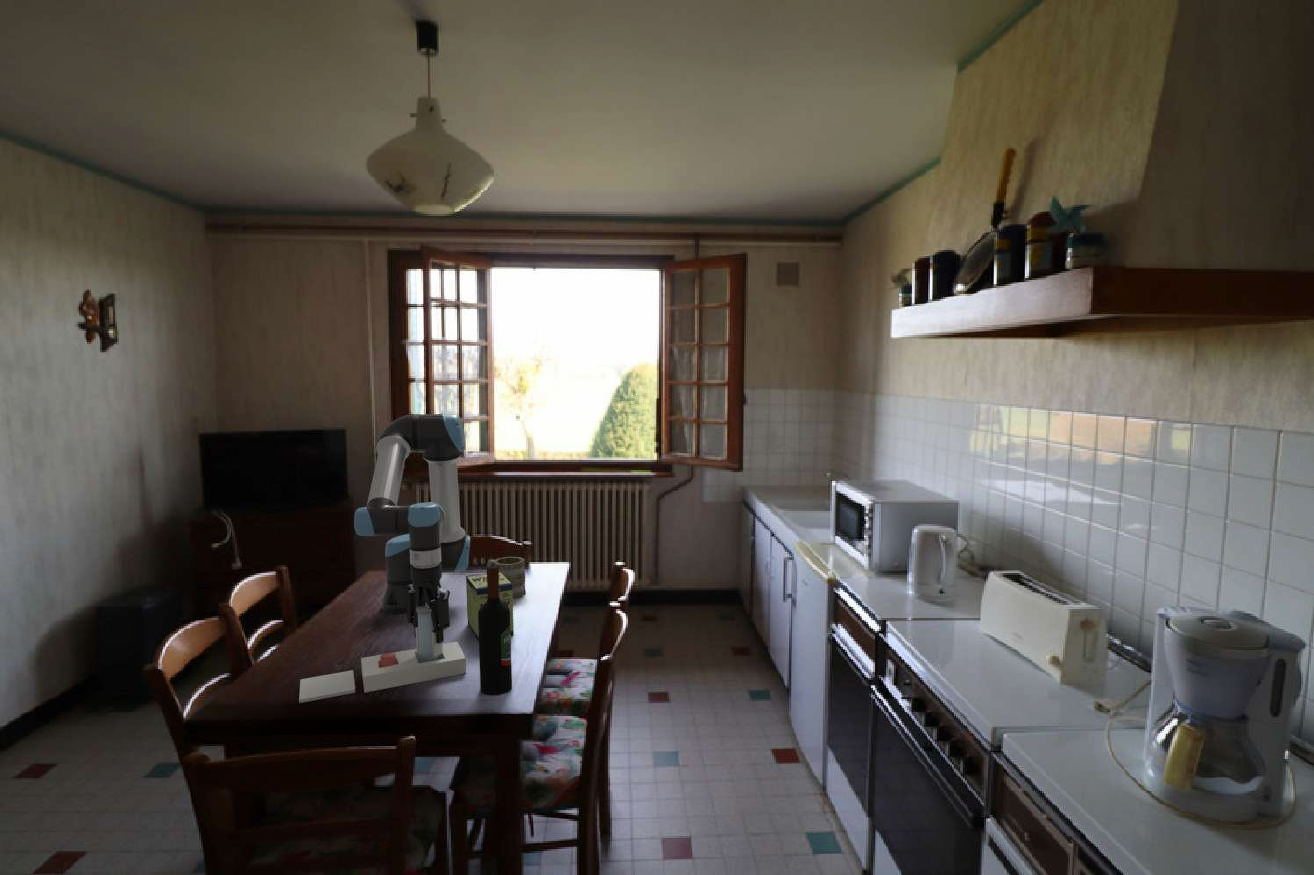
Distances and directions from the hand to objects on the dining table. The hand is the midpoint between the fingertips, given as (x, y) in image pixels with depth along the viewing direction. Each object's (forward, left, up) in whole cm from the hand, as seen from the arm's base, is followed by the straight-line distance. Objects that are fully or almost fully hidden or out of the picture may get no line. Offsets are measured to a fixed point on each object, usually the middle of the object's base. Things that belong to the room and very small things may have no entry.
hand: (429, 652), depth 178 cm
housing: (0, -4, -5) cm, 6 cm away
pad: (-1, -24, -5) cm, 24 cm away
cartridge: (0, 0, -5) cm, 5 cm away
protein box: (-21, +20, -5) cm, 29 cm away
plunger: (0, -10, -4) cm, 11 cm away
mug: (-53, +32, -5) cm, 62 cm away
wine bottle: (+18, +13, -5) cm, 23 cm away
